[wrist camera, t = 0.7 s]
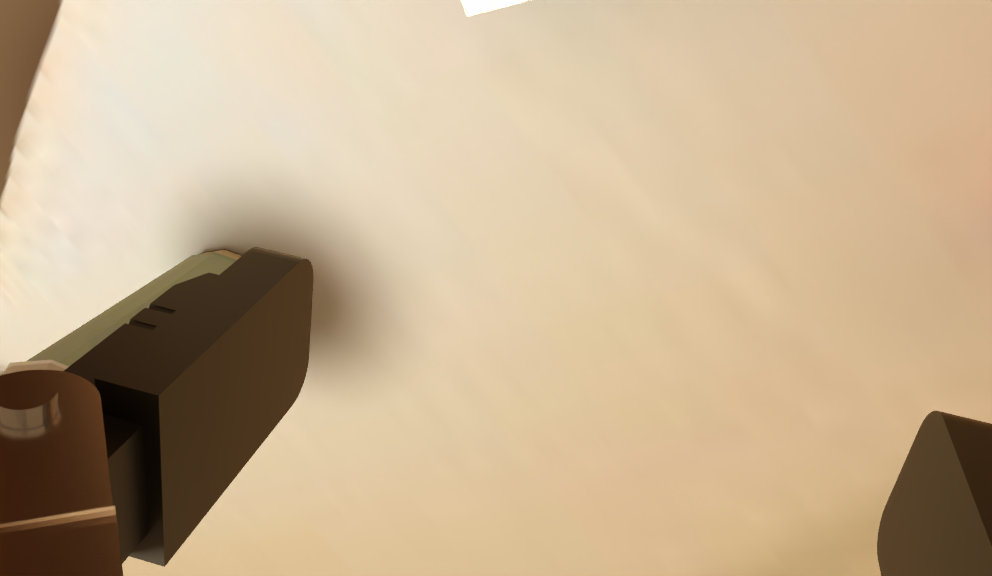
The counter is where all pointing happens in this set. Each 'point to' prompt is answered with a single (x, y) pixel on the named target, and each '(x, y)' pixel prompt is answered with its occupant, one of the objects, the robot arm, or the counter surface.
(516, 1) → the dish rack
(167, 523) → the robot arm
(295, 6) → the counter surface
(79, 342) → the disposable coffee cup
